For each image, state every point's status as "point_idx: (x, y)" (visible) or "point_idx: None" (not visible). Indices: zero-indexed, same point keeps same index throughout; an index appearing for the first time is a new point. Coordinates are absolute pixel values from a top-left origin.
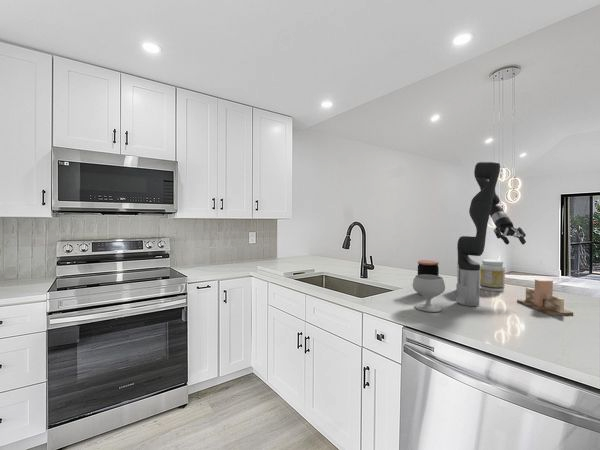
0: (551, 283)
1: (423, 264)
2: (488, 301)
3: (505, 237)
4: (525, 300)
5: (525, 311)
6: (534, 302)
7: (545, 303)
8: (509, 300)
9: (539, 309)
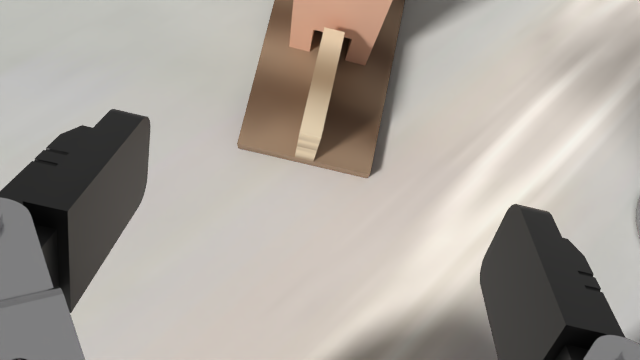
0: None
1: None
2: None
3: (594, 317)
4: (333, 145)
5: (479, 31)
6: (367, 58)
7: None
8: (383, 219)
9: (402, 10)
